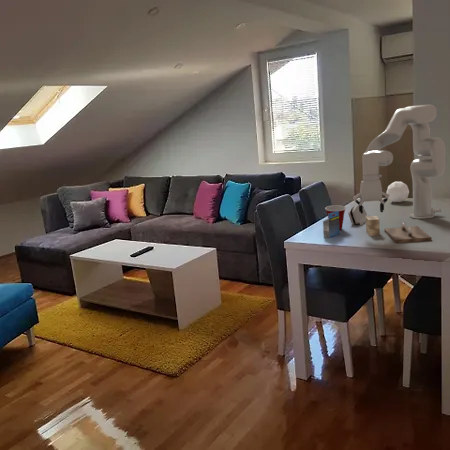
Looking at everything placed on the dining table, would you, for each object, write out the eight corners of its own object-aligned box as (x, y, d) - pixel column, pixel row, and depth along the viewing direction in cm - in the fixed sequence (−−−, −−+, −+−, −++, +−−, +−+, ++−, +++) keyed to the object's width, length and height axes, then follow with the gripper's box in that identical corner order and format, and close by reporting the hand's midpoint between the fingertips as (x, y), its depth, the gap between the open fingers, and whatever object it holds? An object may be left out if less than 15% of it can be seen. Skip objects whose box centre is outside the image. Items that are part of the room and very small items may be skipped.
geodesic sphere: (409, 195, 300) (408, 175, 305) (385, 196, 305) (385, 177, 310) (409, 205, 312) (409, 186, 317) (386, 206, 317) (387, 187, 322)
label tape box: (333, 233, 254) (332, 209, 251) (340, 234, 251) (339, 210, 248) (323, 237, 248) (321, 213, 246) (330, 238, 245) (328, 214, 243)
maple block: (376, 231, 249) (375, 215, 248) (379, 235, 242) (379, 219, 240) (366, 232, 250) (365, 216, 248) (369, 235, 242) (368, 220, 240)
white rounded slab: (360, 225, 264) (354, 207, 264) (353, 227, 267) (346, 210, 267) (370, 218, 277) (364, 201, 277) (363, 220, 280) (356, 204, 280)
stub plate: (417, 229, 245) (417, 219, 244) (431, 240, 224) (431, 229, 223) (384, 231, 247) (384, 221, 246) (395, 243, 226) (395, 232, 224)
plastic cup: (332, 232, 254) (331, 210, 252) (322, 228, 265) (321, 207, 262) (351, 229, 257) (350, 207, 255) (340, 225, 267) (339, 204, 265)
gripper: (387, 175, 242) (387, 210, 246) (351, 178, 244) (352, 212, 248) (390, 177, 235) (391, 212, 238) (353, 180, 237) (354, 215, 240)
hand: (371, 212), depth 243 cm, fingers open, 9 cm apart
